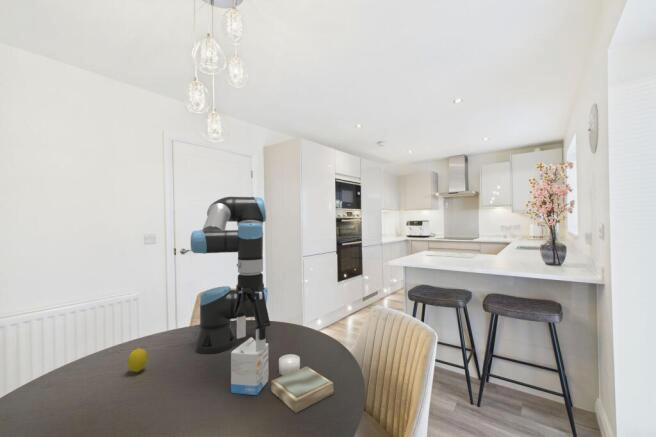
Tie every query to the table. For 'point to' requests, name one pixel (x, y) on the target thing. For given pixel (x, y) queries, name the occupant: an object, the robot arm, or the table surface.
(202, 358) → the table surface
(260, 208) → the robot arm
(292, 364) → the white domed cylinder
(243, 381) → the ink box
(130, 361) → the lemon
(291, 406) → the oak picture frame
